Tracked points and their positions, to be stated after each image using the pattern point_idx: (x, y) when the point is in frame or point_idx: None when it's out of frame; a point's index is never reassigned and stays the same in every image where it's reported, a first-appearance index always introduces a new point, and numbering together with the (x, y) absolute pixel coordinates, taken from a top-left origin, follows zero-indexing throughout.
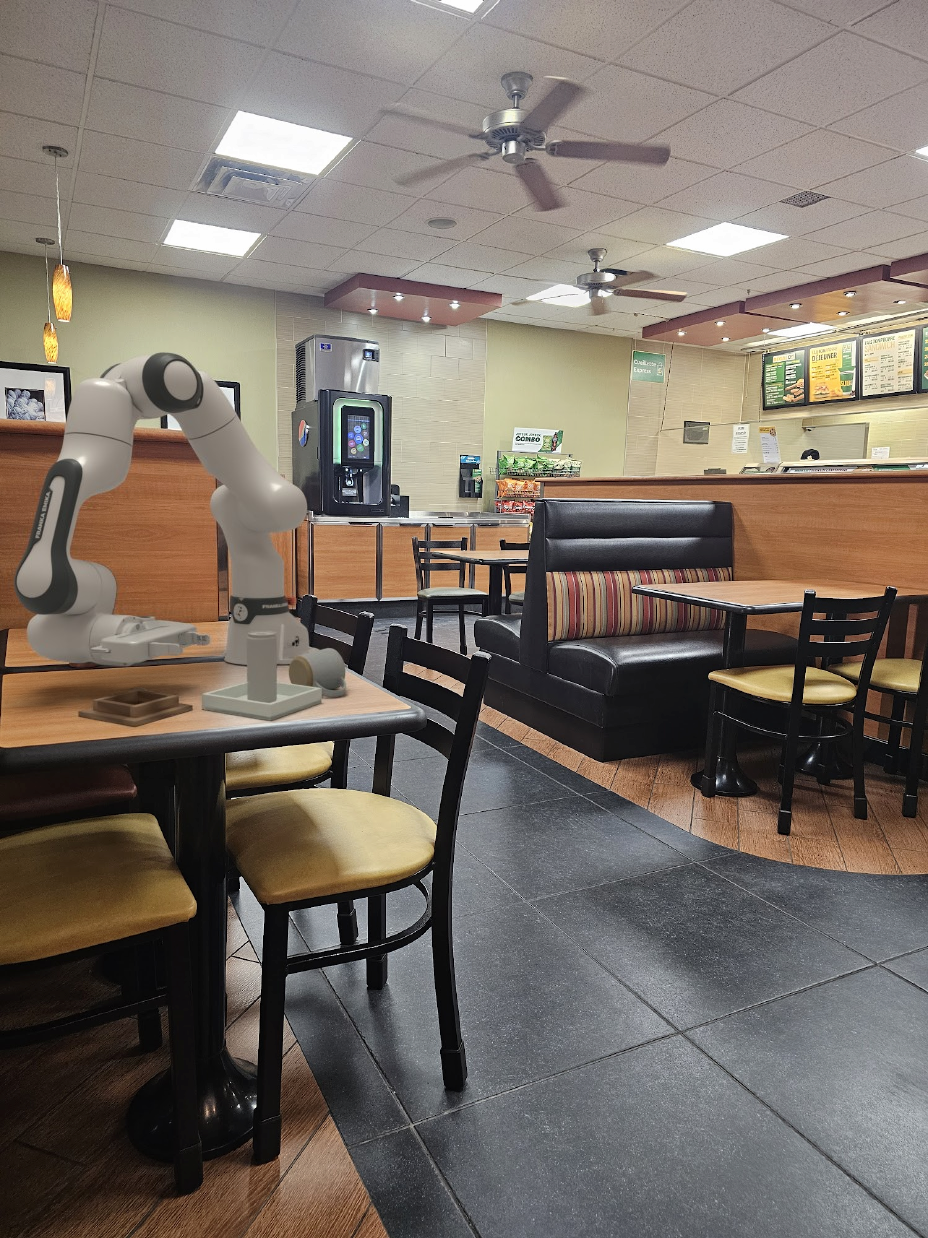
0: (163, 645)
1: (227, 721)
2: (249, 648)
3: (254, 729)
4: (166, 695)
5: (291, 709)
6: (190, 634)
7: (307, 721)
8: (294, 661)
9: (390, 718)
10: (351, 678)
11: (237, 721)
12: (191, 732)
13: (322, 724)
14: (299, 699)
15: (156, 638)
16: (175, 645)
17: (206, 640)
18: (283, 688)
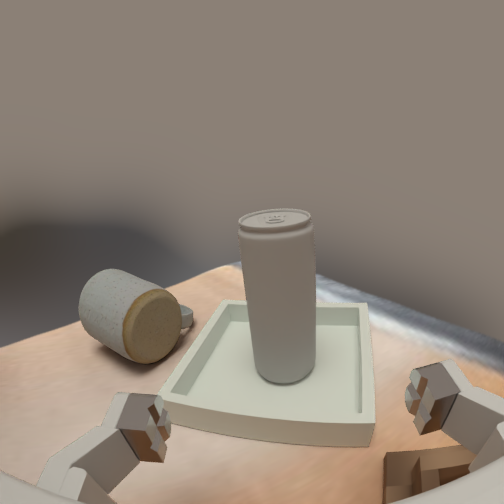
0: (491, 397)
1: (407, 363)
2: (312, 256)
3: (411, 320)
4: (437, 480)
5: None
6: (92, 478)
7: (336, 301)
8: (142, 310)
9: None
10: (57, 331)
11: (396, 353)
12: (483, 359)
13: (339, 288)
14: None
15: (488, 464)
16: (454, 366)
17: (162, 406)
18: (203, 352)
